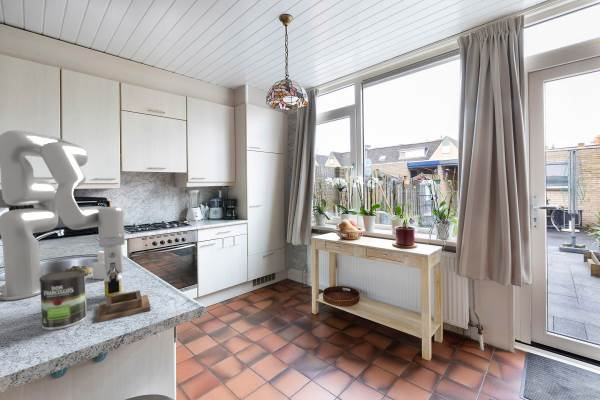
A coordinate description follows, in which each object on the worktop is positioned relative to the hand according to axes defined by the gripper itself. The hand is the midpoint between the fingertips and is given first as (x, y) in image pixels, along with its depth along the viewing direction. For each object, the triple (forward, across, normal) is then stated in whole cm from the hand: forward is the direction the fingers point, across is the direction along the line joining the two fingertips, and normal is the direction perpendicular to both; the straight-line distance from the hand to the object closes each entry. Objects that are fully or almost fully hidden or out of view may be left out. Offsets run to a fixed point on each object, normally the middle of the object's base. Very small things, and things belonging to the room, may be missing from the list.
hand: (114, 288), depth 101 cm
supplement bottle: (+3, 0, 0) cm, 3 cm away
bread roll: (+3, +40, +14) cm, 43 cm away
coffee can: (+3, -14, +12) cm, 19 cm away
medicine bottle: (+3, +29, +3) cm, 29 cm away
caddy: (+3, -14, -3) cm, 15 cm away
